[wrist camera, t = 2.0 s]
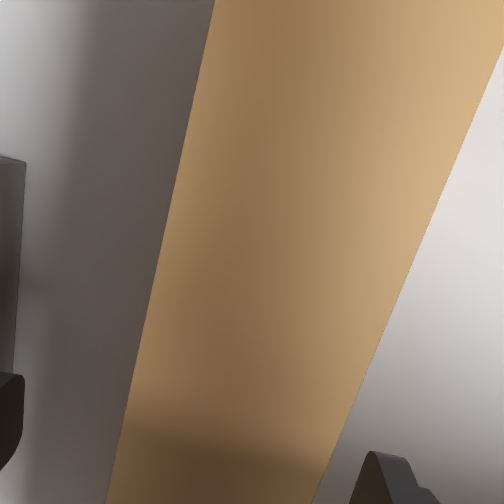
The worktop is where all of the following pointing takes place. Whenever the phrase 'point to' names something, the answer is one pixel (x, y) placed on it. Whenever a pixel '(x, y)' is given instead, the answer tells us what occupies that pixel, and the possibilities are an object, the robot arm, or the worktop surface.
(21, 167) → the ridge stand
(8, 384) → the robot arm
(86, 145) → the worktop surface
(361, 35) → the oak batten
